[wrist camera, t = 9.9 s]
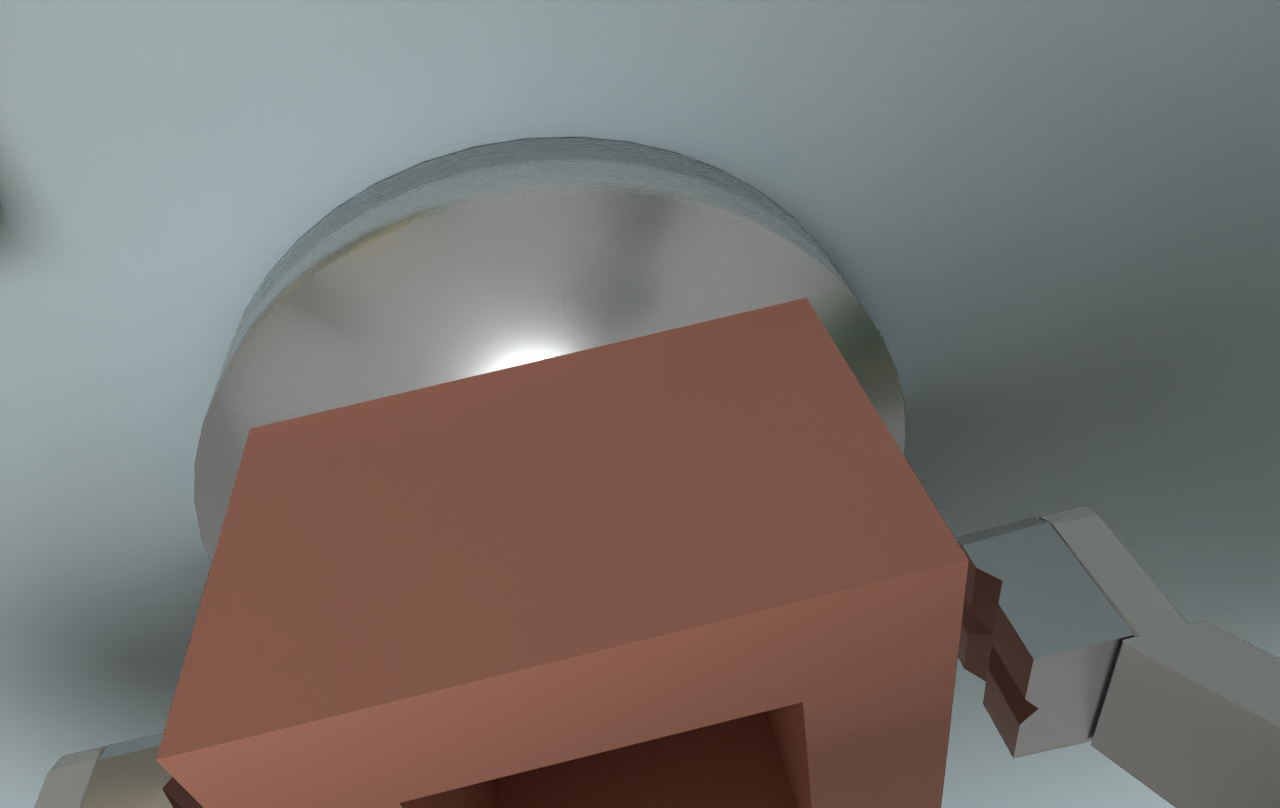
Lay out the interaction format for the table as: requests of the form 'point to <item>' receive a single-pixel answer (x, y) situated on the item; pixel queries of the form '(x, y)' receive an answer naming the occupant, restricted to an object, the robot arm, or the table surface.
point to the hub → (513, 284)
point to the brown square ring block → (582, 592)
